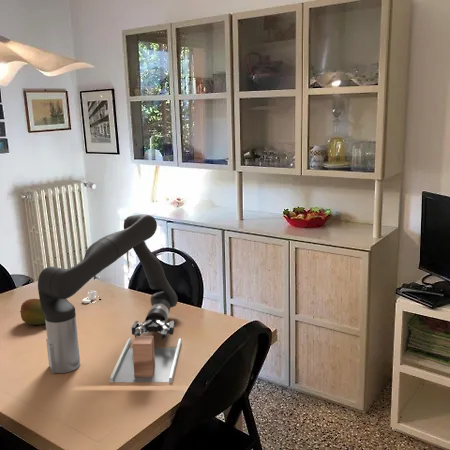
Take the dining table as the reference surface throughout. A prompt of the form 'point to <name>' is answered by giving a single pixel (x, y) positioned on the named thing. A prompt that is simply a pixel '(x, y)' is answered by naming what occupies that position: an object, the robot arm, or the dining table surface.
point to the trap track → (163, 365)
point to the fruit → (32, 312)
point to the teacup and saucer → (90, 297)
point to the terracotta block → (143, 356)
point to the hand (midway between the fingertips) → (149, 337)
